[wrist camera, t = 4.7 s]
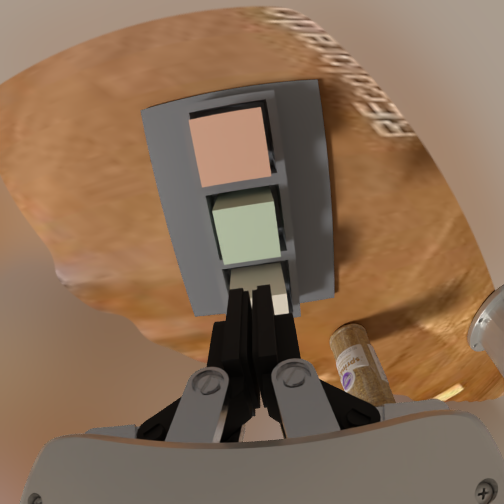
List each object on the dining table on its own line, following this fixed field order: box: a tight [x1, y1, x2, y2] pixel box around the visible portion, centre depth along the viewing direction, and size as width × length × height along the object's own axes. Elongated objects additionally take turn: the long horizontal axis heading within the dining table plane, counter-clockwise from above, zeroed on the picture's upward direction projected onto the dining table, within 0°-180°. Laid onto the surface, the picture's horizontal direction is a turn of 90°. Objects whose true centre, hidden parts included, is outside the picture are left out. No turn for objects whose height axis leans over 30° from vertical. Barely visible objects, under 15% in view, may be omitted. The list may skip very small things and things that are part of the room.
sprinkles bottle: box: [329, 324, 396, 407], centre depth 25 cm, size 5×5×14 cm
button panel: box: [141, 80, 334, 318], centre depth 23 cm, size 14×20×4 cm
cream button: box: [230, 262, 289, 315], centre depth 23 cm, size 4×4×4 cm
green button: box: [212, 185, 281, 265], centre depth 22 cm, size 4×4×4 cm
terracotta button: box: [189, 107, 271, 187], centre depth 17 cm, size 4×4×4 cm
